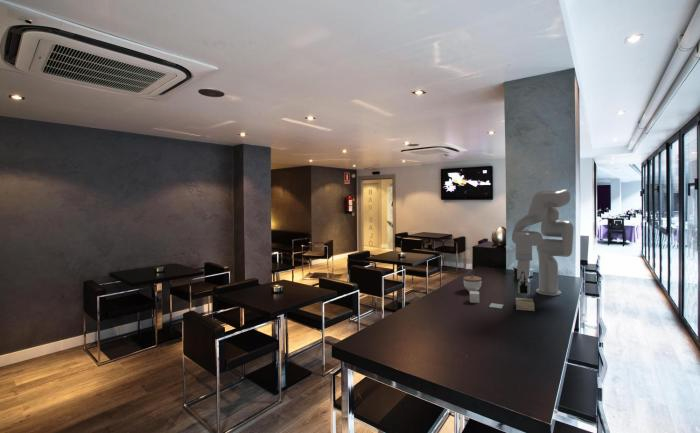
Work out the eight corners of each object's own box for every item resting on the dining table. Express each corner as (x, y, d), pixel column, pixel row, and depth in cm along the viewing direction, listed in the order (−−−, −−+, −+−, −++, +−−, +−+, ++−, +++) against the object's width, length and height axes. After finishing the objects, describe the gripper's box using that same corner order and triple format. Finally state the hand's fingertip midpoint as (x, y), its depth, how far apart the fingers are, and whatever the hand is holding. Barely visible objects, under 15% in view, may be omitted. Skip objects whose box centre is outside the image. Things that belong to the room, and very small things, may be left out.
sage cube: (519, 290, 175) (519, 281, 174) (530, 291, 172) (530, 282, 172) (518, 293, 170) (518, 283, 170) (529, 294, 168) (529, 284, 167)
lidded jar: (459, 289, 209) (459, 275, 208) (472, 287, 213) (472, 272, 213) (472, 293, 199) (472, 278, 199) (485, 290, 204) (485, 275, 203)
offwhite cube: (469, 299, 189) (469, 291, 188) (479, 300, 187) (478, 291, 187) (469, 302, 184) (469, 293, 184) (479, 303, 182) (479, 294, 182)
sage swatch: (491, 303, 180) (491, 303, 180) (503, 305, 176) (503, 304, 176) (489, 307, 175) (489, 306, 175) (501, 308, 171) (501, 308, 171)
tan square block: (515, 305, 177) (515, 297, 177) (532, 306, 174) (532, 298, 173) (516, 310, 170) (516, 302, 169) (534, 311, 166) (534, 303, 166)
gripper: (517, 253, 179) (518, 287, 180) (513, 259, 165) (513, 295, 166) (533, 254, 175) (534, 288, 176) (530, 260, 161) (530, 297, 162)
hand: (524, 291), depth 171 cm, fingers closed on sage cube, 5 cm apart
